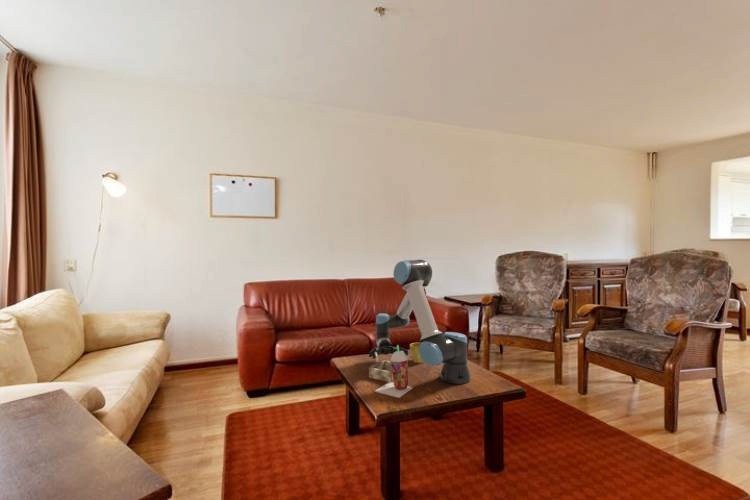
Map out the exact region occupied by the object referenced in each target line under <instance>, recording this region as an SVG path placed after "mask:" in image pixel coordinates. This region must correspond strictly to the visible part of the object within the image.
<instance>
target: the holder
mask: <svg viewBox="0 0 750 500" xmlns="http://www.w3.org/2000/svg"><path fill="white" fill-rule="evenodd" d="M368 378H370V379H373V380H379V381H381V382H386V383H388V382H393V375H392V368H391V360H385V359H384V360H381V361H380V362H379V361H378V362H376V363H375V364H373V365H371V366H368ZM393 383H394V382H393Z"/></svg>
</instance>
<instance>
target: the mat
mask: <svg viewBox="0 0 750 500" xmlns="http://www.w3.org/2000/svg"><path fill="white" fill-rule="evenodd" d="M413 388H414V387H413V386H410V385H407V388H406V389H402V390H399V389H396V388H395V386H394V383H393V382H386V384H384V385H382V386H380V387H378V388H377V389H375V390H374V392H375V393H378V394H382V395H387V396H391V397H395V398H398V399H399V398H401V397H403V396H404V395H405V394H407V393H408V392H409V391H411V390H412V389H413Z"/></svg>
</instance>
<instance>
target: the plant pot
mask: <svg viewBox="0 0 750 500" xmlns="http://www.w3.org/2000/svg"><path fill="white" fill-rule="evenodd" d="M420 344H421V342H412V343H410V344H409V351H410V353H411V357H412V361H413V362H414V363H417V364H423V363H425V362H424V361H423V360H422V359H421V357H420V354H419V349H420V348H419V346H420Z"/></svg>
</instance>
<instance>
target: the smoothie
mask: <svg viewBox="0 0 750 500" xmlns="http://www.w3.org/2000/svg"><path fill="white" fill-rule="evenodd" d="M396 347H397V349H398V351H396V352H394V353H393V354H391V358H389V361H391V368H392V375H393V382H394V386H395V388H396V389H399V390H402V389H406V388H407V386H409V363H408V361H409V360H408V359H409V358H408V357H407V356H408V355H405V353H404V352H402V351H399V347H400V345H399V344H397V345H396Z"/></svg>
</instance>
